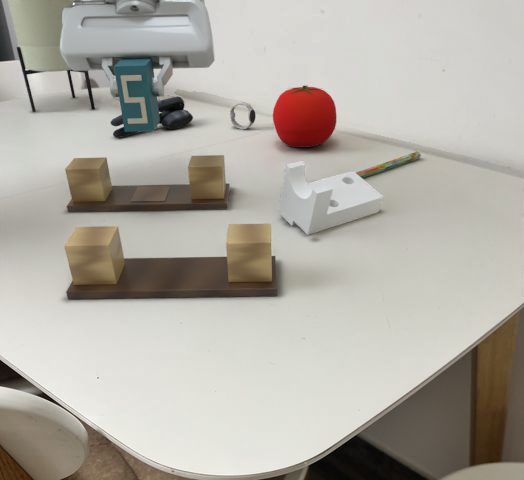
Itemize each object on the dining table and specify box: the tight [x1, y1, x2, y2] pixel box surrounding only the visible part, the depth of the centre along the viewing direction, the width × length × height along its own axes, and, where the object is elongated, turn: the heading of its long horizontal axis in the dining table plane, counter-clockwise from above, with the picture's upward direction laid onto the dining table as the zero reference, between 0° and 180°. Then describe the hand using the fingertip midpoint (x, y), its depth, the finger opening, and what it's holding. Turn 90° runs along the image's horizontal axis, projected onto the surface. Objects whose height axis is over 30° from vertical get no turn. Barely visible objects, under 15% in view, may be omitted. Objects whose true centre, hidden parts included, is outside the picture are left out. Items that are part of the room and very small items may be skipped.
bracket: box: [277, 160, 385, 236], centre depth 80 cm, size 13×7×8 cm, turn 123°
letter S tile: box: [114, 58, 160, 133], centre depth 75 cm, size 4×5×8 cm
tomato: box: [272, 84, 337, 148], centre depth 106 cm, size 12×12×10 cm
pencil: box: [355, 151, 422, 179], centre depth 96 cm, size 1×1×18 cm
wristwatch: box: [229, 101, 256, 130], centre depth 117 cm, size 3×5×5 cm, turn 64°
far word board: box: [64, 154, 231, 213], centre depth 87 cm, size 24×8×6 cm, turn 90°
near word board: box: [63, 223, 277, 300], centre depth 67 cm, size 24×8×6 cm, turn 90°
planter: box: [6, 0, 96, 113], centre depth 130 cm, size 15×16×23 cm
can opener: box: [110, 96, 194, 139], centre depth 117 cm, size 18×7×6 cm, turn 127°
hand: (137, 94), depth 75 cm, fingers closed on letter S tile, 4 cm apart
